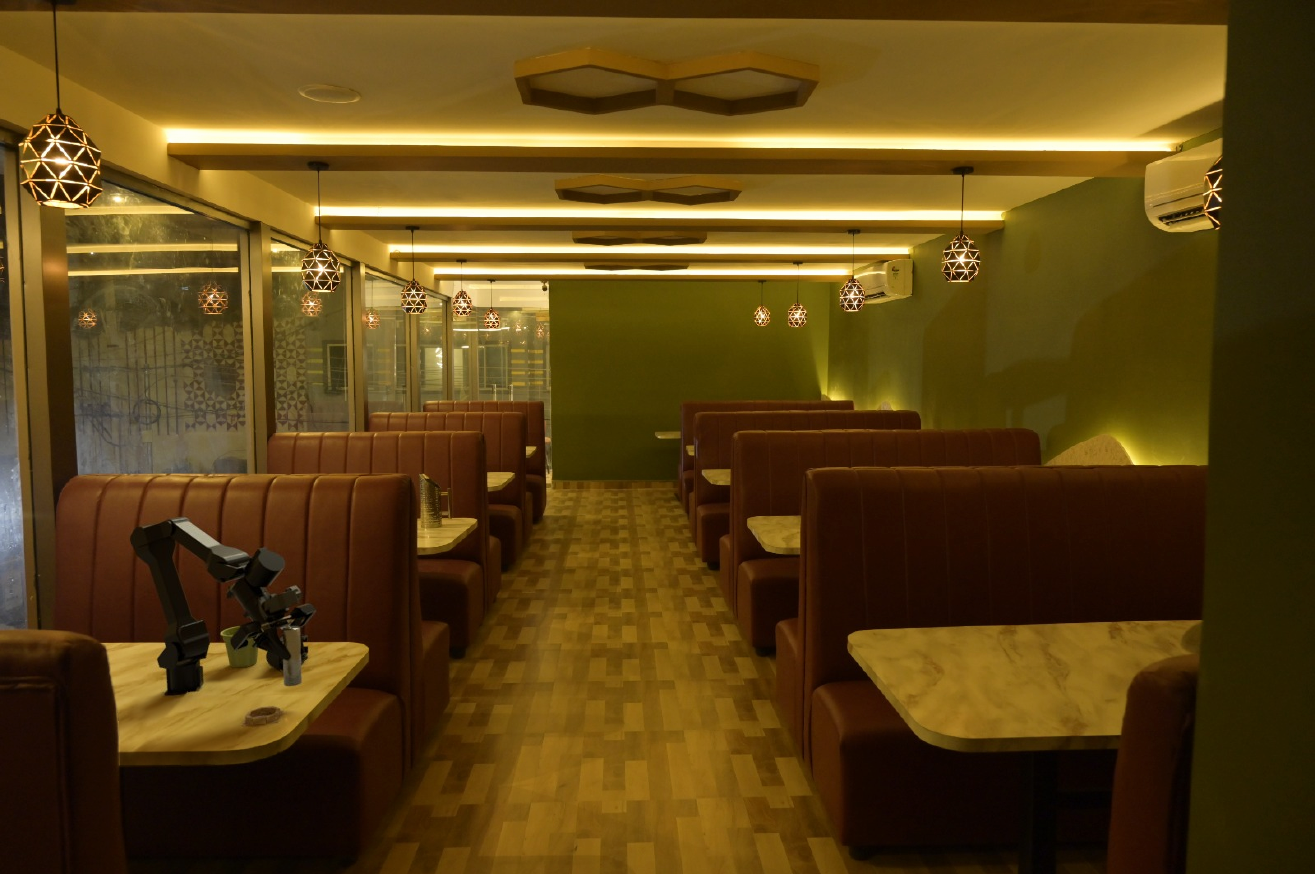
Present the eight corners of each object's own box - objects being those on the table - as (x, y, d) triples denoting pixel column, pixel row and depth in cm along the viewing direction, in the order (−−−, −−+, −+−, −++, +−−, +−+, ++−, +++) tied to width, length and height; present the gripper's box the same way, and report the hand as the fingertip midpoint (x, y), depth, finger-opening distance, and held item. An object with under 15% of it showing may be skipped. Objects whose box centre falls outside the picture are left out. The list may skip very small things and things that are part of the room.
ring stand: (241, 730, 167) (241, 720, 167) (249, 718, 173) (248, 707, 173) (277, 727, 168) (277, 716, 168) (284, 714, 175) (283, 704, 175)
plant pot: (214, 666, 205) (212, 632, 204) (250, 655, 213) (248, 622, 212) (236, 673, 200) (234, 638, 199) (272, 661, 208) (270, 627, 207)
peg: (284, 687, 175) (282, 631, 174) (283, 681, 178) (281, 627, 177) (302, 684, 176) (300, 629, 175) (301, 678, 179) (299, 624, 178)
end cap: (280, 658, 211) (279, 632, 210) (309, 656, 212) (308, 631, 211) (266, 672, 201) (265, 644, 200) (296, 670, 202) (295, 643, 201)
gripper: (237, 587, 168) (280, 646, 165) (308, 567, 185) (348, 620, 182) (211, 621, 172) (253, 679, 168) (283, 598, 189) (322, 651, 186)
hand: (296, 656), depth 176 cm, fingers closed on peg, 3 cm apart
